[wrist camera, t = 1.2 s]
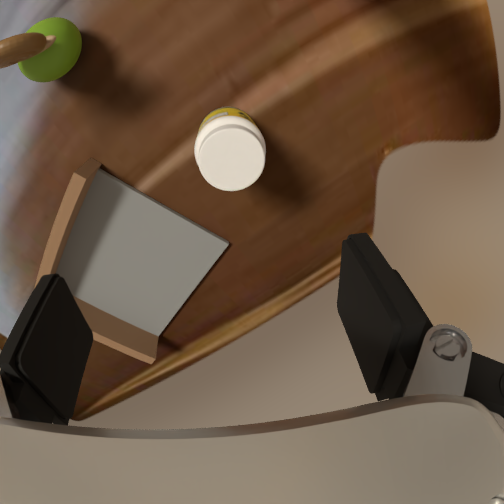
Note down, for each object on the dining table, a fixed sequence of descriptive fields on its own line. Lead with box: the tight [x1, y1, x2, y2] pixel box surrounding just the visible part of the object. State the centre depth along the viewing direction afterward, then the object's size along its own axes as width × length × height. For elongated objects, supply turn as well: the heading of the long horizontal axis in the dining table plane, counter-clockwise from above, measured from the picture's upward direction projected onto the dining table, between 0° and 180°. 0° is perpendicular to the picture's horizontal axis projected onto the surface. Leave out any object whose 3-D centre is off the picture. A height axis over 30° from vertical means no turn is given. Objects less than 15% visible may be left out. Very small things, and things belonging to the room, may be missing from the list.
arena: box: [34, 158, 229, 364], centre depth 30 cm, size 17×15×4 cm
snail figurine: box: [0, 17, 82, 82], centre depth 14 cm, size 5×6×12 cm
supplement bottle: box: [194, 107, 266, 191], centre depth 22 cm, size 5×5×8 cm
